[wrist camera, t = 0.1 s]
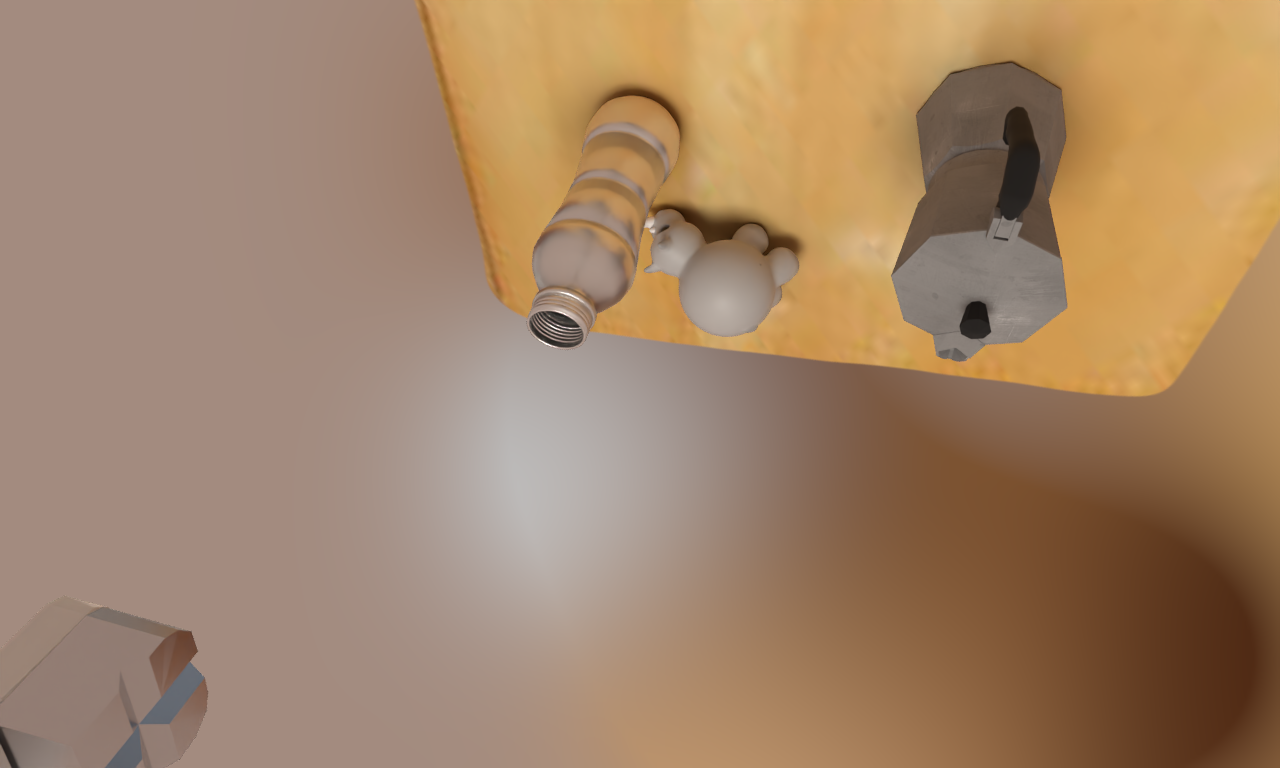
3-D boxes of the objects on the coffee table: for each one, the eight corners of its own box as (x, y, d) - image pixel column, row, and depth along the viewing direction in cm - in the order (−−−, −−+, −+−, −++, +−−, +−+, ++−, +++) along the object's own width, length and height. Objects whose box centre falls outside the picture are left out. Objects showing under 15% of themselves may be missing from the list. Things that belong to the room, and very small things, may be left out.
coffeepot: (1034, 213, 67) (1028, 422, 56) (895, 190, 68) (863, 389, 58) (1121, 7, 54) (1134, 225, 44) (949, -16, 56) (921, 190, 45)
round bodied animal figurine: (695, 158, 74) (629, 208, 69) (818, 257, 72) (760, 316, 67) (663, 220, 80) (600, 271, 75) (777, 313, 78) (720, 372, 73)
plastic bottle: (584, 86, 68) (484, 291, 56) (675, 78, 66) (591, 290, 54) (611, 160, 73) (524, 364, 61) (697, 155, 70) (624, 366, 59)
